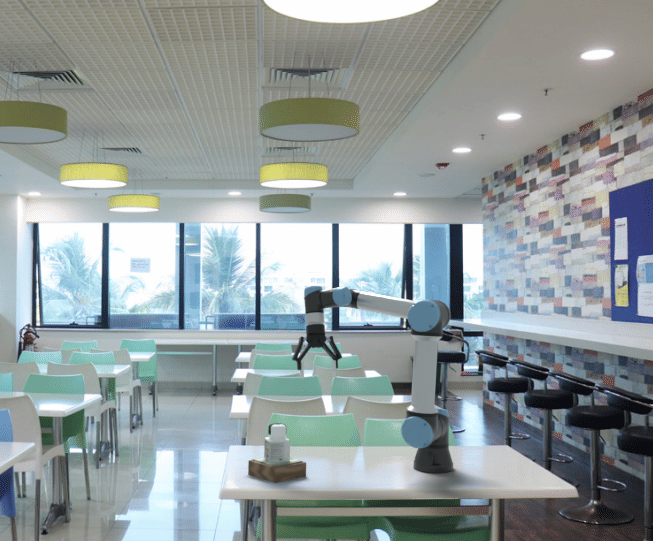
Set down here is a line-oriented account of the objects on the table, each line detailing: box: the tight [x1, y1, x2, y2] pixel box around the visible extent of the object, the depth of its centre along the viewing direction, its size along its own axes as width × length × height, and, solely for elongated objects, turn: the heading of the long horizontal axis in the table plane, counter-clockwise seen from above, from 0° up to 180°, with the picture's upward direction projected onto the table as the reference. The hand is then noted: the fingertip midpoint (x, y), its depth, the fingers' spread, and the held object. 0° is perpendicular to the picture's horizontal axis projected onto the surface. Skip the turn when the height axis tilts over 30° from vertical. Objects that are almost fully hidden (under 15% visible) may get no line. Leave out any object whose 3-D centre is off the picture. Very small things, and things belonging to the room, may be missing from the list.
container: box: [263, 422, 291, 463], centre depth 250 cm, size 8×8×13 cm
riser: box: [247, 456, 307, 484], centre depth 249 cm, size 16×14×6 cm
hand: (318, 377), depth 271 cm, fingers open, 13 cm apart
